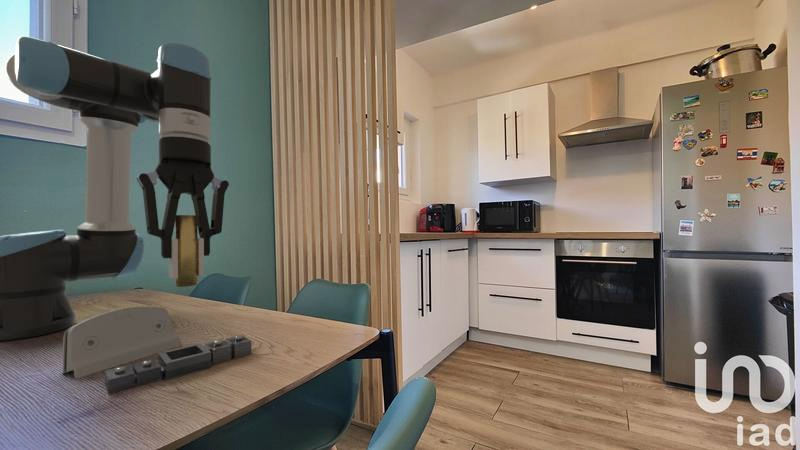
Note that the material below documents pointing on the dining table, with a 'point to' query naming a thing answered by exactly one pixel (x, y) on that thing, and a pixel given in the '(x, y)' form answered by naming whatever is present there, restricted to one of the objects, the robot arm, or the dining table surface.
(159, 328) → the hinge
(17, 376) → the dining table surface
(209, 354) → the chain end
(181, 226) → the link pin
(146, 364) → the chain end
